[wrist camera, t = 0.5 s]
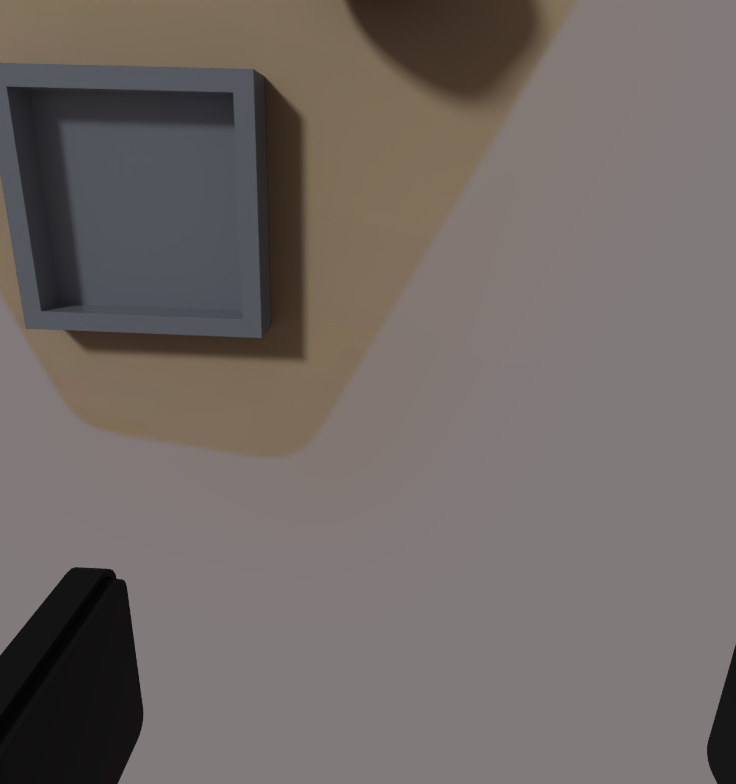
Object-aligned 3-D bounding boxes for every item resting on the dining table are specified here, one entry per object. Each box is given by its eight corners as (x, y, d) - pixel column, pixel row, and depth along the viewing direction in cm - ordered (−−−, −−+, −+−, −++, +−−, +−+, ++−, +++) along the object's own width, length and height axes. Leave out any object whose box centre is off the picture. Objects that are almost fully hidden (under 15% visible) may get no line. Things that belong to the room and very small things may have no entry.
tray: (13, 70, 32) (-18, 62, 30) (264, 76, 32) (253, 69, 29) (50, 317, 37) (25, 328, 34) (271, 326, 36) (261, 338, 34)
